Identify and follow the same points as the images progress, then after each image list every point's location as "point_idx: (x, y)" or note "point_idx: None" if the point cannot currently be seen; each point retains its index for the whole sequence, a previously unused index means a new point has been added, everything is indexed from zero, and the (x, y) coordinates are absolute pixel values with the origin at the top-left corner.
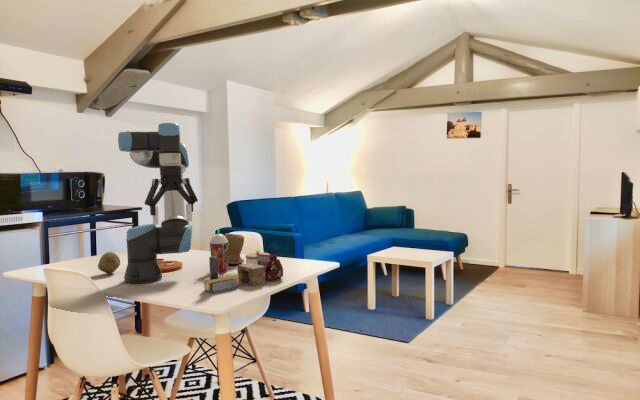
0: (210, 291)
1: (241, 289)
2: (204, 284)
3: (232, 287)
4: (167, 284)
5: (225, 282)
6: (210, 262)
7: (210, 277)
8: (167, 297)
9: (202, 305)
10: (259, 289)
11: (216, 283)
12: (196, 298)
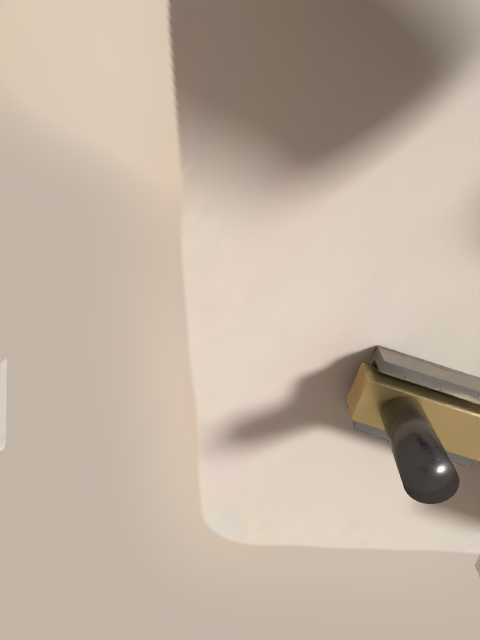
0: None
1: None
2: (362, 372)
3: None
4: (402, 69)
5: None
6: (397, 459)
7: (384, 409)
8: (223, 284)
9: (214, 468)
10: (475, 524)
11: (371, 434)
12: (267, 396)
